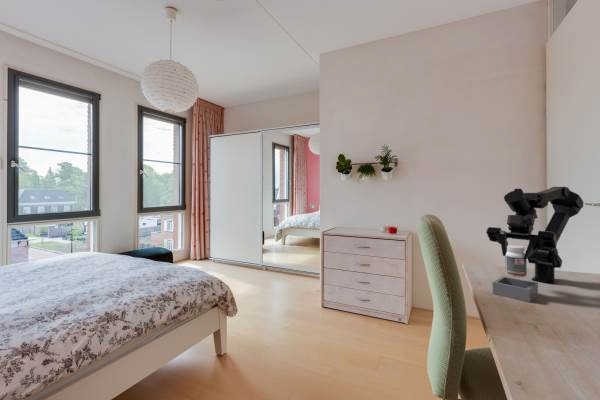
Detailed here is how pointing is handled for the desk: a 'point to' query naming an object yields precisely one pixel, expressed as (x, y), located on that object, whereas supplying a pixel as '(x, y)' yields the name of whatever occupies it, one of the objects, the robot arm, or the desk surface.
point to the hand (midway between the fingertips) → (514, 256)
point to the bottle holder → (515, 288)
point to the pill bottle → (515, 261)
